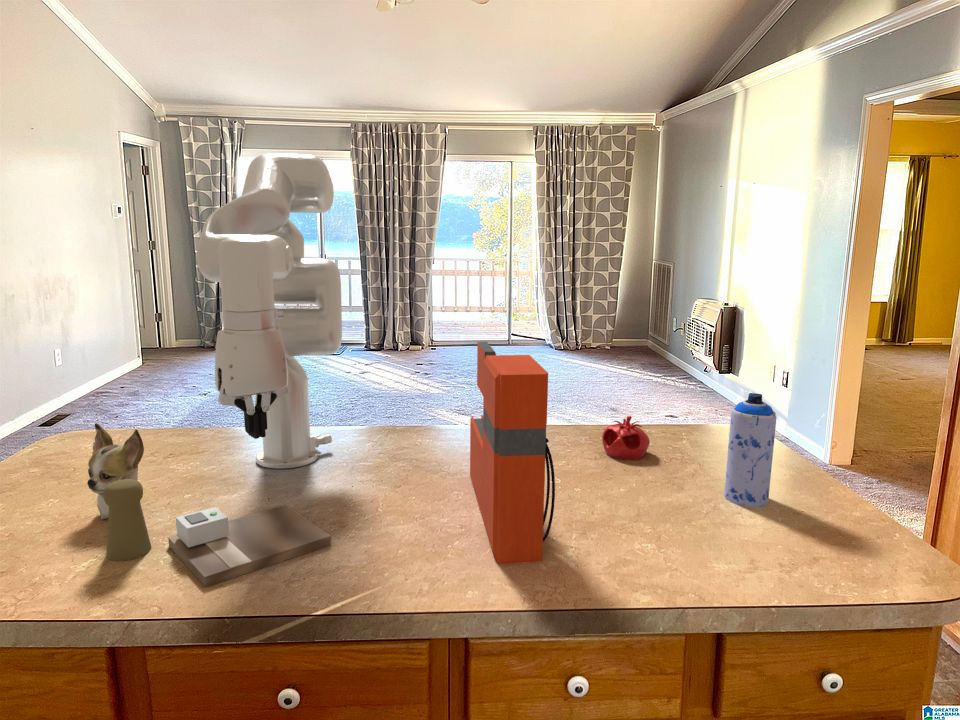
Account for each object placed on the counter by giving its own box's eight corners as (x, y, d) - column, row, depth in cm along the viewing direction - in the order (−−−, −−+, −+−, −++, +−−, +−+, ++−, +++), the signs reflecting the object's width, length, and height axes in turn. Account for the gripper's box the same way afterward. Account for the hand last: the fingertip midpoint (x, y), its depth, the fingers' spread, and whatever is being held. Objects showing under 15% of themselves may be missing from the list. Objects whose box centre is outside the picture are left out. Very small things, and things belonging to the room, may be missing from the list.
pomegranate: (613, 446, 151) (615, 407, 149) (655, 455, 145) (658, 414, 144) (593, 458, 143) (595, 416, 141) (637, 468, 138) (640, 424, 136)
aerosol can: (769, 497, 123) (780, 392, 119) (768, 512, 116) (779, 401, 112) (724, 489, 126) (733, 387, 122) (720, 504, 119) (729, 396, 115)
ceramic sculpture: (70, 518, 111) (60, 431, 108) (115, 499, 119) (107, 418, 116) (117, 529, 107) (108, 440, 104) (160, 509, 115) (153, 425, 112)
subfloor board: (285, 512, 114) (285, 504, 114) (330, 544, 102) (330, 535, 102) (169, 546, 101) (168, 536, 101) (205, 587, 90) (204, 576, 90)
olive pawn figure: (160, 545, 102) (154, 477, 100) (128, 564, 96) (121, 492, 94) (130, 539, 104) (123, 472, 102) (96, 557, 98) (88, 486, 96)
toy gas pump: (514, 475, 132) (517, 335, 127) (557, 561, 98) (563, 373, 93) (467, 477, 131) (468, 335, 126) (494, 564, 97) (497, 375, 92)
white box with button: (217, 524, 105) (215, 505, 104) (229, 535, 101) (228, 515, 100) (177, 535, 101) (175, 516, 100) (188, 547, 97) (186, 527, 96)
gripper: (284, 313, 108) (290, 420, 112) (190, 322, 99) (199, 439, 103) (306, 319, 103) (311, 432, 107) (208, 329, 93) (218, 453, 97)
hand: (256, 435), depth 105 cm, fingers closed
